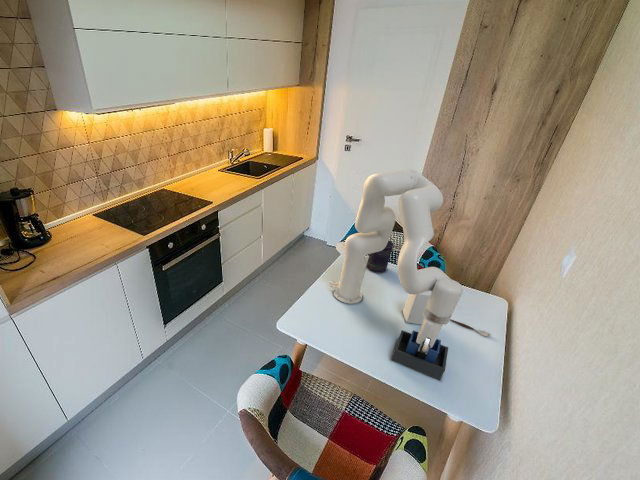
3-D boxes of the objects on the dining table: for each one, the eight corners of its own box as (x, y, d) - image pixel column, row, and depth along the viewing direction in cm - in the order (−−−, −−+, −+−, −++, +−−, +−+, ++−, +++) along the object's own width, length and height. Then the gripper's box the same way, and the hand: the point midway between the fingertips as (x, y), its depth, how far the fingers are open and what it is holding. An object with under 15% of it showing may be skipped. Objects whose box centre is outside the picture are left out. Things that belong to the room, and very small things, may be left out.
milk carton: (424, 325, 130) (440, 287, 120) (406, 322, 132) (420, 285, 121) (419, 314, 136) (434, 277, 126) (402, 311, 137) (415, 275, 127)
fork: (449, 318, 134) (450, 314, 133) (494, 336, 125) (496, 332, 124) (447, 321, 132) (449, 317, 131) (493, 340, 124) (495, 336, 123)
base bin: (391, 360, 115) (395, 349, 112) (397, 340, 123) (401, 329, 120) (439, 380, 108) (445, 370, 105) (443, 357, 116) (448, 347, 113)
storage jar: (383, 275, 161) (391, 249, 153) (364, 269, 166) (370, 244, 158) (387, 266, 169) (395, 241, 161) (368, 261, 173) (375, 236, 165)
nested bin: (404, 355, 114) (409, 341, 110) (407, 343, 119) (413, 330, 115) (432, 366, 109) (438, 352, 106) (434, 353, 114) (441, 340, 111)
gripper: (428, 296, 112) (413, 333, 121) (420, 324, 100) (404, 363, 109) (452, 304, 108) (435, 341, 118) (447, 334, 96) (428, 373, 106)
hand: (420, 351), depth 113 cm, fingers closed on nested bin, 7 cm apart
